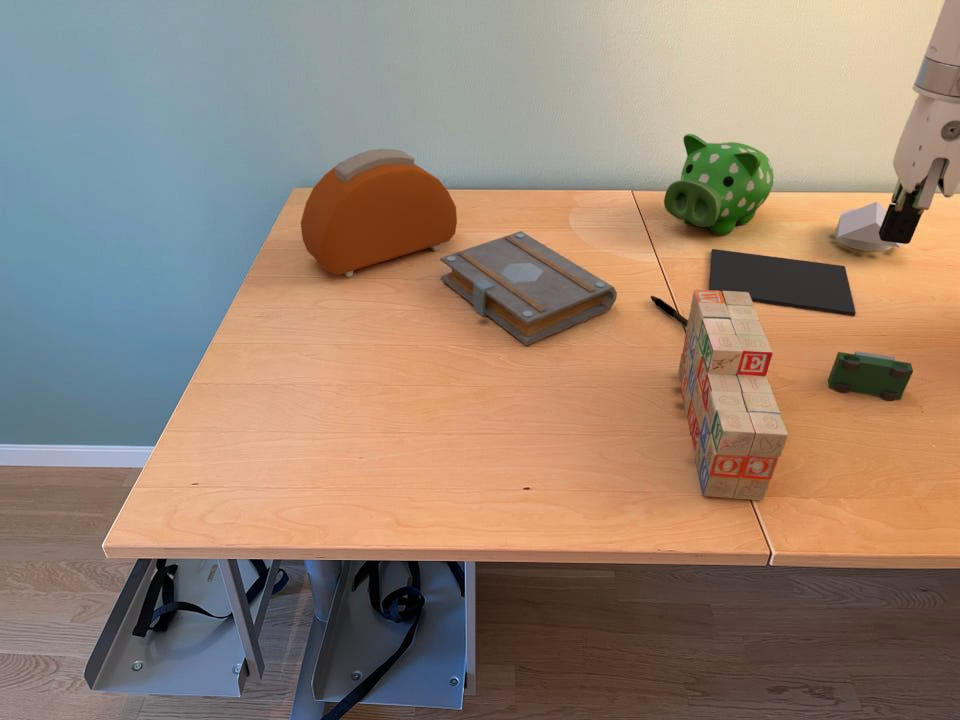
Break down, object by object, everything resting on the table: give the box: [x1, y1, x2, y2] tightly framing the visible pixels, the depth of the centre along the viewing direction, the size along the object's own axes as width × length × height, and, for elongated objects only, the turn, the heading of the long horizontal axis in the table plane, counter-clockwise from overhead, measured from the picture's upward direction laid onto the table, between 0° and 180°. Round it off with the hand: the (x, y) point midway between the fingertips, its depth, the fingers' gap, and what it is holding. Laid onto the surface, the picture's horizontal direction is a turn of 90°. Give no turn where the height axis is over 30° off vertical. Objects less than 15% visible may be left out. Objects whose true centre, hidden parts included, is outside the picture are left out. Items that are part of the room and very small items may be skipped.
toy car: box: [827, 350, 914, 402], centre depth 84 cm, size 8×4×4 cm, turn 73°
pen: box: [650, 295, 688, 328], centre depth 96 cm, size 14×2×1 cm, turn 26°
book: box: [439, 230, 618, 346], centre depth 101 cm, size 21×16×5 cm
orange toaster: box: [300, 148, 458, 278], centre depth 108 cm, size 23×9×17 cm, turn 123°
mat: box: [708, 248, 857, 317], centre depth 106 cm, size 20×14×1 cm
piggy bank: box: [663, 133, 775, 237], centre depth 118 cm, size 14×18×15 cm
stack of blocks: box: [677, 289, 789, 501], centre depth 76 cm, size 21×6×12 cm, turn 174°
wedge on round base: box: [834, 201, 902, 253], centre depth 114 cm, size 9×7×13 cm
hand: (893, 239), depth 83 cm, fingers closed
